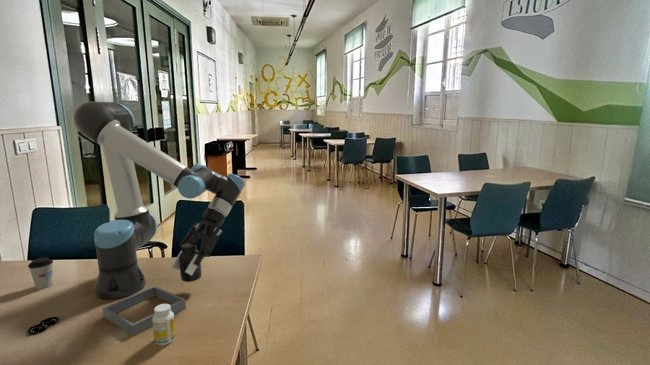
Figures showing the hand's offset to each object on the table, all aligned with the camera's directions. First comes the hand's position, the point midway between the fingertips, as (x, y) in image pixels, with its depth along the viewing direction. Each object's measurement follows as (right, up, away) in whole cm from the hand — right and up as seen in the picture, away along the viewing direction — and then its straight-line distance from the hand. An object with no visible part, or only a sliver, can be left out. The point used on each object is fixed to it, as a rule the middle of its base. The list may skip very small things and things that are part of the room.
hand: (181, 270), depth 116 cm
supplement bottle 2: (+2, -4, +4) cm, 6 cm away
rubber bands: (-34, -13, -15) cm, 39 cm away
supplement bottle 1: (+5, -13, -21) cm, 26 cm away
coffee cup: (-52, -8, +8) cm, 54 cm away
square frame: (-8, -11, -9) cm, 16 cm away
